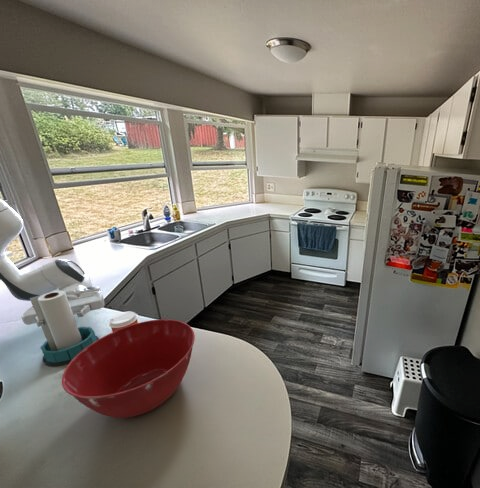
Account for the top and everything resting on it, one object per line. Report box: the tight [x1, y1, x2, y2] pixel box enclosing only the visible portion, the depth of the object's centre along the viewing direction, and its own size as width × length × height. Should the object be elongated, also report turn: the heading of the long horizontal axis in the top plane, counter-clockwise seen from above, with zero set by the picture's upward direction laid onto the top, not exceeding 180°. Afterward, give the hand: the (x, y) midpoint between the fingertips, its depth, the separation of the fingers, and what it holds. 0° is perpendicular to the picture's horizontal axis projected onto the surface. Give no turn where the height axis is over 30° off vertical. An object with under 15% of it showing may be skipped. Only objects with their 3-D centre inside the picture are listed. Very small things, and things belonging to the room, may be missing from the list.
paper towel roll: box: [29, 290, 82, 351], centre depth 82 cm, size 7×6×21 cm
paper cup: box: [108, 310, 139, 332], centre depth 85 cm, size 8×8×14 cm
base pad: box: [40, 326, 100, 367], centre depth 86 cm, size 14×14×5 cm
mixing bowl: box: [61, 318, 196, 419], centre depth 70 cm, size 28×28×15 cm
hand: (60, 319), depth 82 cm, fingers open, 8 cm apart
